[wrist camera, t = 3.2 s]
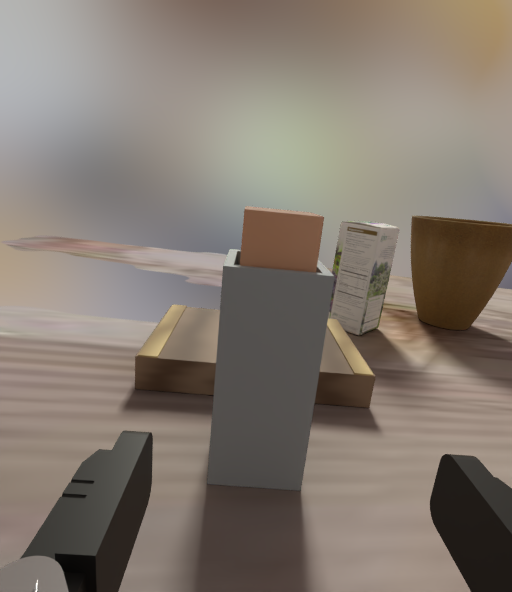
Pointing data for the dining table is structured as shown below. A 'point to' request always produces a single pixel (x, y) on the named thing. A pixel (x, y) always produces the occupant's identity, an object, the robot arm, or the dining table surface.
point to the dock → (203, 351)
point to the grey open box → (266, 373)
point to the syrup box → (361, 274)
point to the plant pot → (457, 267)
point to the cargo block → (281, 239)
